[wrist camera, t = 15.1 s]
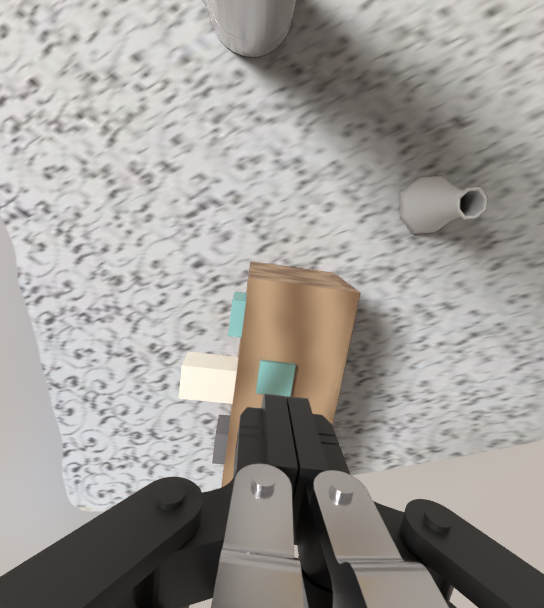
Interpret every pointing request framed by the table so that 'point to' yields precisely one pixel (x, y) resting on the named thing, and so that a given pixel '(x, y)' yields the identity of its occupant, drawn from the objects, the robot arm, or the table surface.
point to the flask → (438, 204)
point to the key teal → (237, 314)
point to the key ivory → (208, 377)
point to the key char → (221, 439)
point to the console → (291, 342)
